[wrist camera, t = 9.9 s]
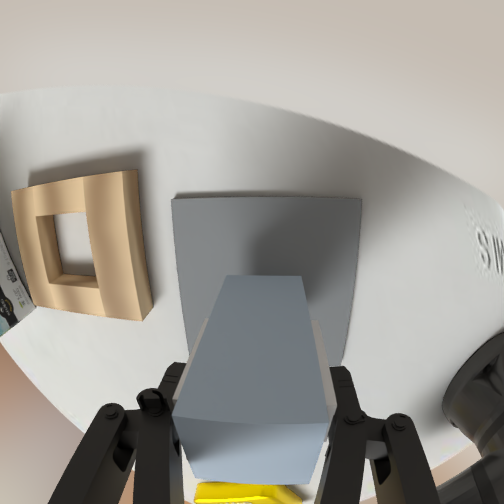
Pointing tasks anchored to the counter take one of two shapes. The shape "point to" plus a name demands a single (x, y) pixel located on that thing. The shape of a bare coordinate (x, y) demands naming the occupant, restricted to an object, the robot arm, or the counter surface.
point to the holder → (101, 240)
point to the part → (254, 387)
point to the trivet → (269, 254)
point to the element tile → (244, 494)
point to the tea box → (11, 293)
